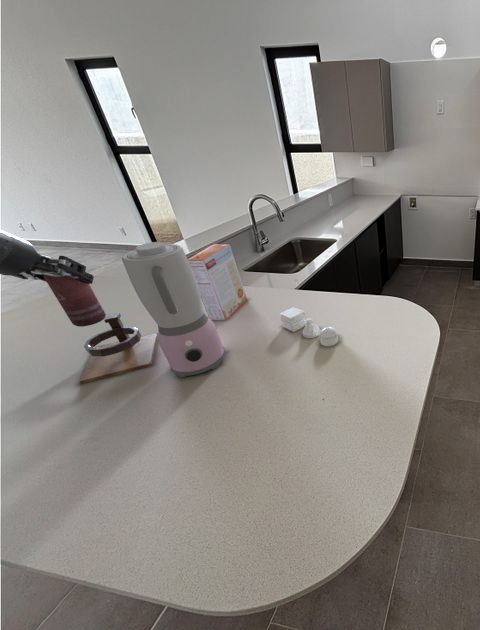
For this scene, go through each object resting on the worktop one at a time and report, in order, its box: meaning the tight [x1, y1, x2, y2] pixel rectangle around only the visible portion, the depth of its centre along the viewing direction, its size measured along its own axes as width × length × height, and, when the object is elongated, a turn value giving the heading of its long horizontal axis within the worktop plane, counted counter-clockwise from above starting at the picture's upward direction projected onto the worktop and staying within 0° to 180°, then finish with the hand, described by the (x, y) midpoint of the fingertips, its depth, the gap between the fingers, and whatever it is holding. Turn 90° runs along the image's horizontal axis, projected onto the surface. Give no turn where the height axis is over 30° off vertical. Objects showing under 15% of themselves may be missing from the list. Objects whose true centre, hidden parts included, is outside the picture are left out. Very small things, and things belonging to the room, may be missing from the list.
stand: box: [78, 312, 158, 385], centre depth 86 cm, size 14×16×10 cm
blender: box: [121, 241, 227, 378], centre depth 77 cm, size 16×12×32 cm
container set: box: [279, 306, 339, 347], centre depth 97 cm, size 20×5×6 cm, turn 57°
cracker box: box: [187, 243, 248, 321], centre depth 105 cm, size 14×6×21 cm, turn 178°
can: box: [42, 266, 107, 328], centre depth 76 cm, size 6×6×14 cm
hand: (75, 280), depth 76 cm, fingers closed on can, 6 cm apart
